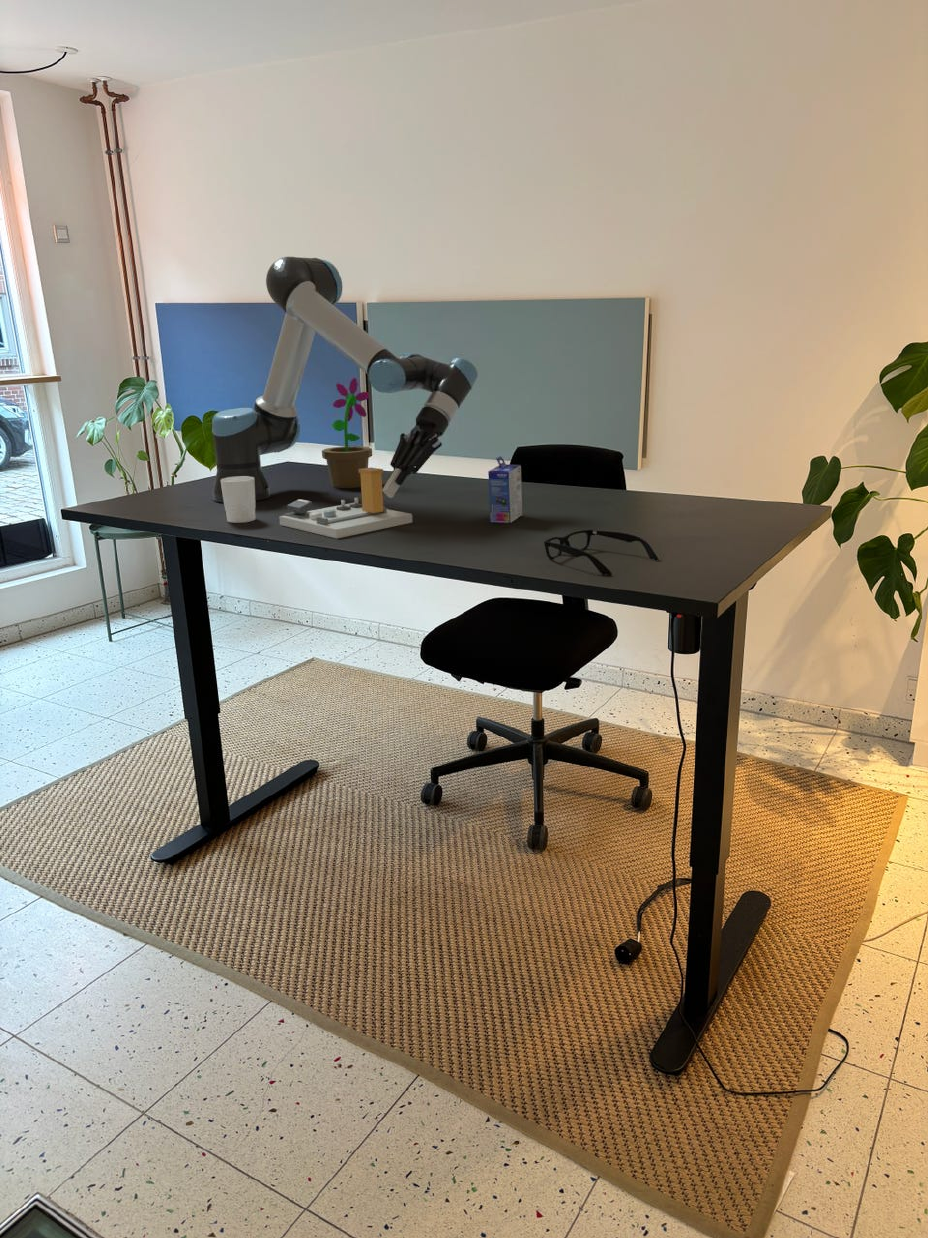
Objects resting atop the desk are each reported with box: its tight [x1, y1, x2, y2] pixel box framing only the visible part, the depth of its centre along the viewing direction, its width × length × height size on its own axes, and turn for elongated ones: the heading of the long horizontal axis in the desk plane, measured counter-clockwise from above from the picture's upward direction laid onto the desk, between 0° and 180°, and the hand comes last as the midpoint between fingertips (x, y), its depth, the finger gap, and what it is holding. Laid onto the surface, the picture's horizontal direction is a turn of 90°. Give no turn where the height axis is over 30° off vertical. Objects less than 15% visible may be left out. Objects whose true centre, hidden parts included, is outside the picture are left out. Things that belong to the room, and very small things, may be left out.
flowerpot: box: [321, 377, 373, 489], centre depth 262 cm, size 14×14×30 cm
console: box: [279, 497, 413, 539], centre depth 214 cm, size 22×22×4 cm
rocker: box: [286, 498, 314, 513], centre depth 214 cm, size 5×4×2 cm
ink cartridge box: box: [487, 456, 523, 524], centre depth 214 cm, size 10×6×14 cm, turn 161°
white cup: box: [220, 476, 256, 524], centre depth 220 cm, size 8×8×10 cm
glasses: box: [543, 529, 659, 576], centre depth 177 cm, size 16×18×5 cm
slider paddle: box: [358, 467, 384, 513], centre depth 213 cm, size 5×4×10 cm
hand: (387, 494), depth 215 cm, fingers closed
